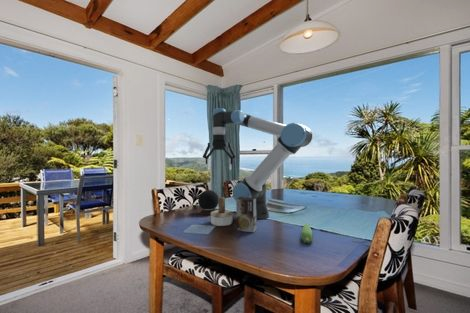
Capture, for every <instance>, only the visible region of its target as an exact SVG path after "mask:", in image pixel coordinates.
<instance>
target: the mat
mask: <svg viewBox="0 0 470 313" xmlns="http://www.w3.org/2000/svg"><path fill="white" fill-rule="evenodd" d="M215 228H216V225H206V224H205V225H204V224H191V225H189V227H187V228H186V229H184V230H183V231H182V233H184V234H186V233H189V234H197V235H198V234H203V235H209V234H210V233H211V232H212V231H213V229H215Z"/></svg>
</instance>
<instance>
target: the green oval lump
mask: <svg viewBox="0 0 470 313" xmlns="http://www.w3.org/2000/svg"><path fill="white" fill-rule="evenodd" d="M300 234H301V235H300V236H301V239H302V241H303V242H304V243H306V244H307V243H308V244H310V243H311V242H312V240H313V239H314V237H313V236H314V234H313V231H312V228H311V226H310V225H309V224H308V223H304V225H303V227H302V229H301V233H300Z"/></svg>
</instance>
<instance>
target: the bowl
mask: <svg viewBox="0 0 470 313" xmlns="http://www.w3.org/2000/svg"><path fill="white" fill-rule="evenodd" d="M210 223H211V225H212V226H219V227H220V226H221V227H224V226H230V225H231V224H232V223H233V215H232V216H230V217H223V218H220V217H213V216H210Z"/></svg>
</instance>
